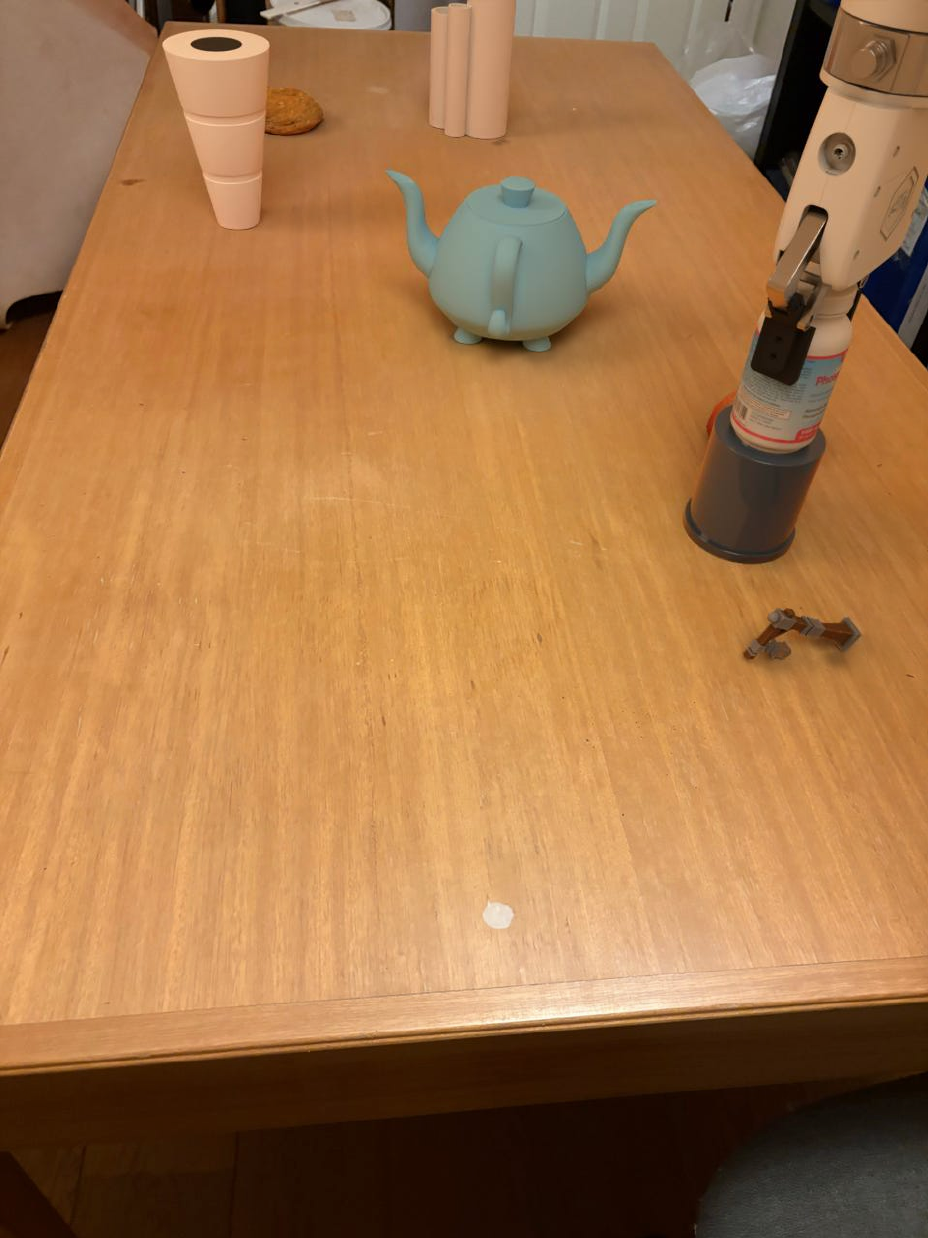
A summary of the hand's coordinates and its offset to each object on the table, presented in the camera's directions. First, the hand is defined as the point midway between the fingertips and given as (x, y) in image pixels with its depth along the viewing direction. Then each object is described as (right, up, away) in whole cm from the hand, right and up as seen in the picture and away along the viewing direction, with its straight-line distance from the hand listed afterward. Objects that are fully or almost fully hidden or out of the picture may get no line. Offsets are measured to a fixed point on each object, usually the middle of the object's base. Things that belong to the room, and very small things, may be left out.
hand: (797, 354), depth 63 cm
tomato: (+3, -2, +19) cm, 20 cm away
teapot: (-18, +12, +32) cm, 38 cm away
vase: (-22, +52, +70) cm, 90 cm away
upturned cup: (-1, -11, +11) cm, 15 cm away
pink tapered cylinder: (-49, +28, +45) cm, 72 cm away
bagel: (-47, +51, +68) cm, 97 cm away
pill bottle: (0, -4, +4) cm, 6 cm away
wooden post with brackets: (+1, -20, +2) cm, 20 cm away
